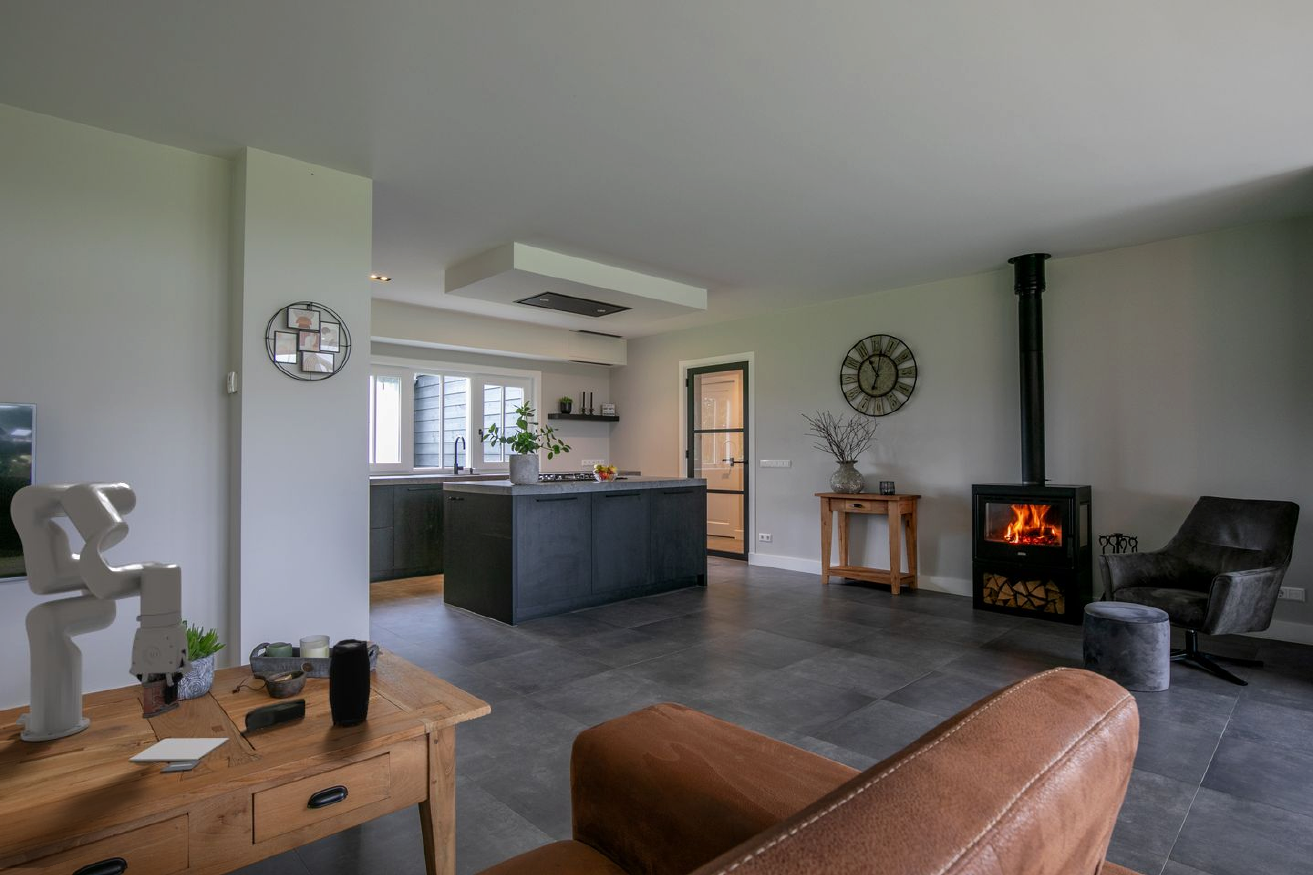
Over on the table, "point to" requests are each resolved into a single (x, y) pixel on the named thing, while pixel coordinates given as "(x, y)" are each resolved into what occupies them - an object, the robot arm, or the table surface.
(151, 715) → the lighter
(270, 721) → the dark elongated piece
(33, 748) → the table surface
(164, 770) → the plate
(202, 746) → the paper
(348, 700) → the portable speaker
